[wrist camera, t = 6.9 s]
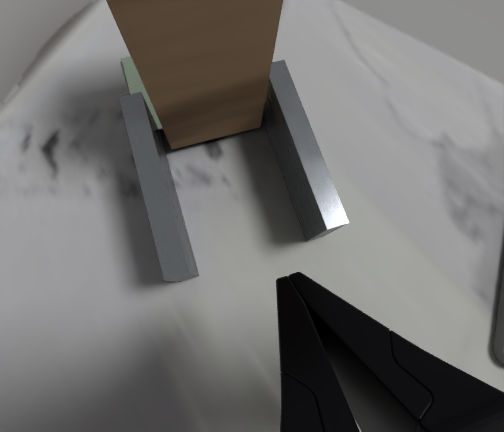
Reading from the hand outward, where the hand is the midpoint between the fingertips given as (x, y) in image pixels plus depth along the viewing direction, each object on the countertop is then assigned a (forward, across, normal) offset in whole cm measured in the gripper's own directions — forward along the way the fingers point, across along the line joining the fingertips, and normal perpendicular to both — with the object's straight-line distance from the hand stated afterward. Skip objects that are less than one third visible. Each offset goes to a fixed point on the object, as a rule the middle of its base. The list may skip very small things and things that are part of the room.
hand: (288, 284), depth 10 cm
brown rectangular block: (+15, 0, -4) cm, 15 cm away
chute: (+13, 0, -1) cm, 13 cm away
